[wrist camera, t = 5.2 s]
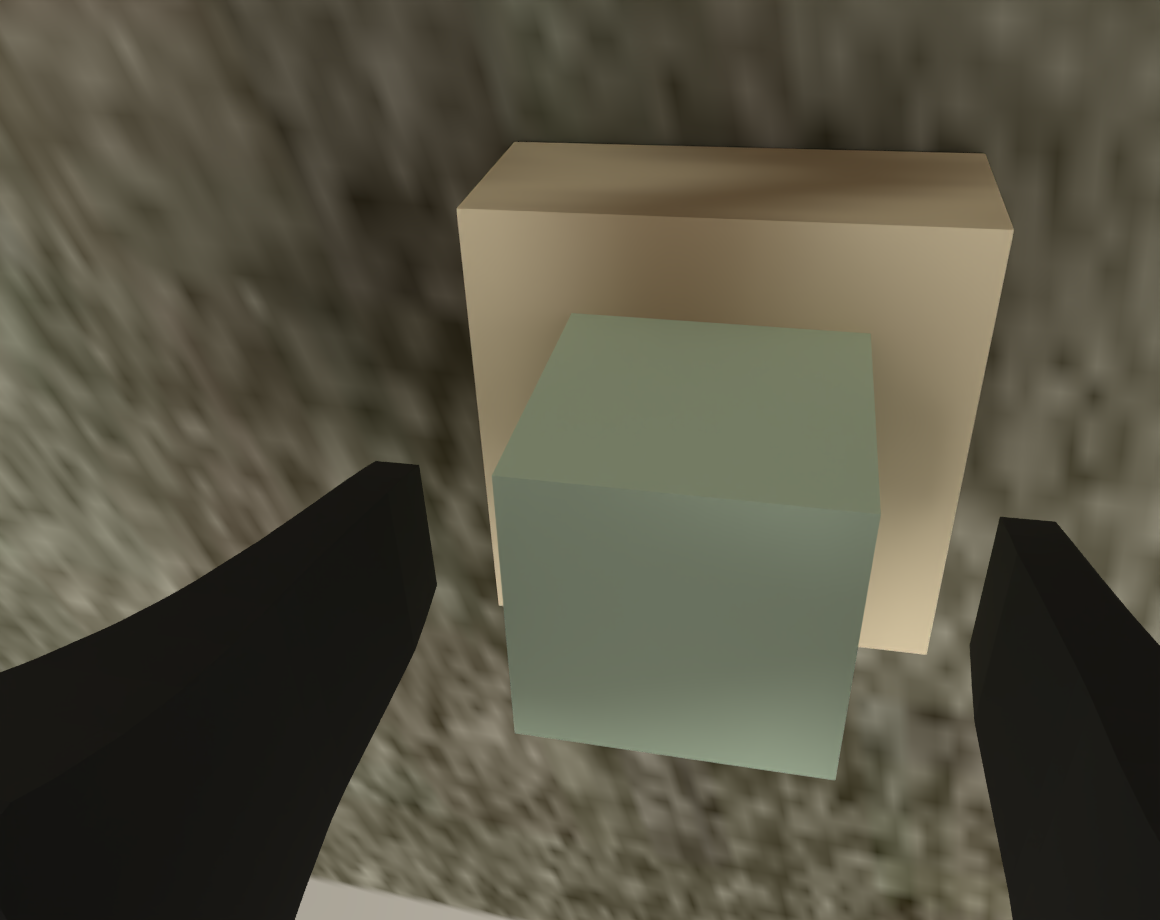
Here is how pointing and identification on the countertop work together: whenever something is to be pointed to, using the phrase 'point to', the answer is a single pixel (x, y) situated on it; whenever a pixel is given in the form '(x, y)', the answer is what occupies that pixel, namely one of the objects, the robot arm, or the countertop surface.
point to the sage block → (691, 540)
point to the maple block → (760, 298)
